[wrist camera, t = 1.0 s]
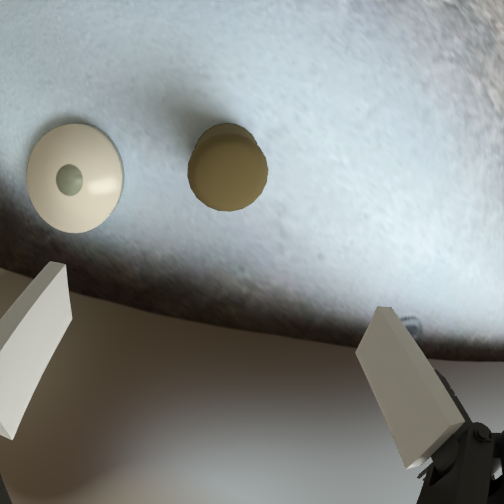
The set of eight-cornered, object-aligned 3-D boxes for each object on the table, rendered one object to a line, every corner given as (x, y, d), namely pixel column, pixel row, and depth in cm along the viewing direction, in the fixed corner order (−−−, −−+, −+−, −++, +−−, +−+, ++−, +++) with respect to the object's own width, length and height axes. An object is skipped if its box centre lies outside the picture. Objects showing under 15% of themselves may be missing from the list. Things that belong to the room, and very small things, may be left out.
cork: (272, 159, 29) (297, 183, 19) (222, 199, 30) (222, 242, 20) (231, 110, 27) (235, 105, 17) (181, 152, 28) (157, 172, 18)
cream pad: (36, 122, 25) (29, 123, 23) (130, 126, 27) (126, 127, 25) (34, 221, 29) (27, 226, 28) (120, 234, 31) (116, 240, 29)
